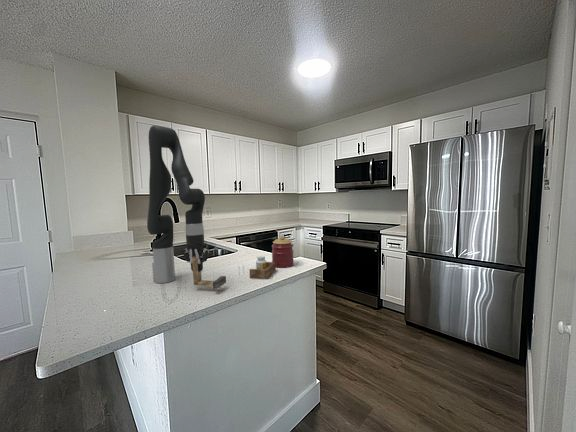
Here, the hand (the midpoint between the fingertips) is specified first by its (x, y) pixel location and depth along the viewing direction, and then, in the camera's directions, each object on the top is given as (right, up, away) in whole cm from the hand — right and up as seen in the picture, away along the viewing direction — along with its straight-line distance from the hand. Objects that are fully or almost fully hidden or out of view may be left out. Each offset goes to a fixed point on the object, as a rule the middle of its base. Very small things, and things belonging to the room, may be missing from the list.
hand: (197, 271), depth 111 cm
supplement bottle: (+27, -6, +20) cm, 34 cm away
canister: (+38, -5, +36) cm, 53 cm away
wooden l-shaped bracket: (+5, -6, -1) cm, 8 cm away
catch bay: (+28, -6, +20) cm, 35 cm away
